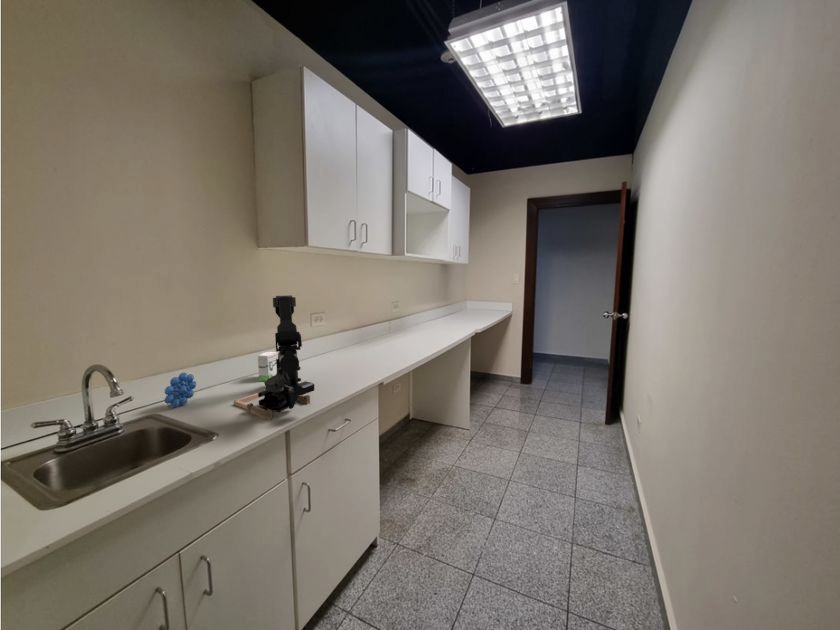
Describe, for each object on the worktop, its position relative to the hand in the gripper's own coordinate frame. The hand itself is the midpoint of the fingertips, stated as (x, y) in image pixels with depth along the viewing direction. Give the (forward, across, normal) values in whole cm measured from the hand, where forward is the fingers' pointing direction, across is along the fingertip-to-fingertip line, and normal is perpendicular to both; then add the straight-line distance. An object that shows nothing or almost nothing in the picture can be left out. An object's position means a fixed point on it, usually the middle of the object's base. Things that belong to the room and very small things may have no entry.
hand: (291, 408), depth 121 cm
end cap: (+1, -8, 0) cm, 8 cm away
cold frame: (+1, -6, 0) cm, 6 cm away
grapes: (+1, -40, -17) cm, 43 cm away
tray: (+1, -17, 0) cm, 17 cm away
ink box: (+1, -41, +20) cm, 46 cm away
